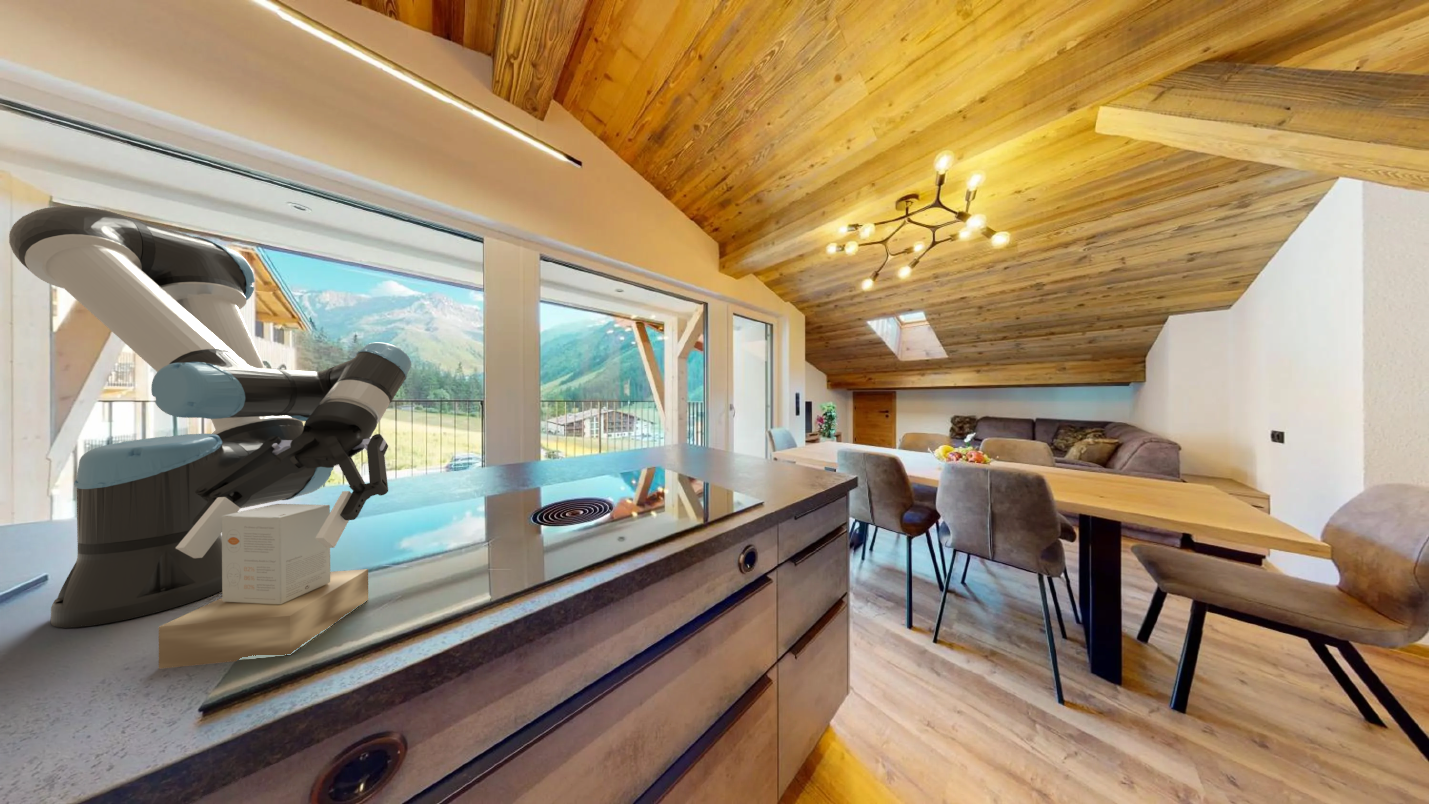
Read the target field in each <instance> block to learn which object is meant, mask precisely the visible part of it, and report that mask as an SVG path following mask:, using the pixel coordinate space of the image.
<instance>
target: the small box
mask: <svg viewBox="0 0 1429 804" xmlns="http://www.w3.org/2000/svg"><path fill="white" fill-rule="evenodd" d="M330 509H331V507H330V504H305V503H304V504H296V503H276V504H271V505H265V506H260V507H257V508H252V509H247V510H242V511H238V512H236V513H232V514H227V515H224V516H222V533H221V536H222V590H221V598H222V601H223V602H240V603H261V604H283V603H285V602H287V601H290V600H292V599H294V598H296V597H299V596H301V595H303V594H305V593H308V592H310V591H312V590H314V589H317V588H319V587H321V586H324V585H326V584H328V583H330V572H331V548H327V547H325V546H324V545H323V544H322V543H321V542H319V541H318V540H317V539H316V536H317V534H318V533H319V531H320V529H321V527H322V526H323V524H324V522H325V521H326V519H327V517H328V515H329V514H330V512H331V510H330Z"/></svg>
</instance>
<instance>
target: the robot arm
mask: <svg viewBox="0 0 1429 804" xmlns="http://www.w3.org/2000/svg"><path fill="white" fill-rule="evenodd" d="M8 234H9V237H8V238H9V239H8V243H9V246H10V248H11V250H12V253H13V254H14V256H15V258H17V259H18V261H19V262H20V264H22V265H23V266H24V267H25V268H26V269H27V270H28V271H30V272H31V273H32V274H33V275H34V276H35V277H36V278H38V279H39V280H42V281H43V282H45V283H47V284H49V285H52V286H55V287H58V288H61V289H64V290H65V291H66V292H67V293H68V294H70V296H72V297H73V299H75V300H76V301H77V302H78V303H79V304H81V306H83V307H84V308H85V309H86V310H87V311H88V312H90V313H91V315H93V316H94V317H95V318H96V319H97V320H99V321H100V322H101V323H102V324H103V325H104V326H106V327H107V329H108V330H109V331H111V332H112V333H113V334H114V335H115V336H116V337H117V338H119V340H120V341H122V342H123V343H124V344H125V345H127V346H128V348H129V349H131V350H132V351H133V352H134V353H135V354H136V355H138V357H140V358H141V359H142V360H143V361H145V363H146V364H147V365H149V366H150V367H151V368H152V369H153V370H154V371H155V372H156V373H155V375H153V379H152V381H151V388H150V389H151V395H152V397H155V405H156V406H157V408H159V410H160V411H162V412H164V413H165V414H166V415H169V416H172V417H176V418H181V419H183V418H184V419H185V418H189V419H190V418H192V419H193V418H195V419H197V418H198V419H200V418H203V419H207V420H208V419H209V420H211V423H212V424H213V427H214V430H213V432H211V433H190V434H180V435H171V436H167V435H166V436H158V437H149V438H141V439H140V438H139V439H134V440H128V441H121V442H115V443H109V444H106V445H101V446H98V447H95V448H92V449H90V450H88V451H86V452H85V453H84V454H83V455H82V456H81V457H80V458H79V461H78V468H77V472H76V473H77V474H76V479H75V481H74V484H73V485H74V488H76V529H77V531H76V532H77V533H76V534H77V536H76V537H77V541H76V542H77V558H76V561H75V564H73V566H72V568H71V570H70V572H69V574H68V576H67V577H66V579H65V581H64V582H63V585H62V586H61V589H60V591H59V593H58V596H57V597H56V599H55V600H53V603H52V605H51V607H50V625H52V626H53V627H55V628H56V627H57V628H80V627H81V628H83V627H90V626H97V625H98V626H99V625H104V624H111V623H115V622H121V621H126V620H130V619H135V618H139V617H143V616H148V615H152V614H156V613H159V612H160V613H161V612H163V611H166V610H170V609H173V608H177V607H181V606H183V605H187V604H190V603H193V602H196V601H198V600H202V599H204V598H207V597H209V596H212V595H214V594H216V593H219V592H222V516H224V515H227V514H232V513H236V512H240V509H245V508H249V507H250V508H251V507H254V506H259V505H265V504H270V503H274V502H278V501H288V500H292V499H294V498H296V497H300V496H305V495H308V494H311V493H314V492H315V491H318V490H319V489H320V488H322V487H323V486H324V485H325V484H326V483H327V481H329V479H330V477H331V476H332V475H331V474H332V472H333V471H334V468H335V466H337V465H338V466H339V468H340V470H341V472H342V474H343V475H344V478H345V479H346V481H347V483H348V485H349V486H348V487H349V488H350V489H351V490H352V492H351V491H350V490H344V491H343V490H342V491H341V493H340V494H339V497H338V498H337V500H336V502H335V503H334V505H333V507H332V509H331V510H330V514H329V515H328V517H327V519H326V521H325V522H324V524H323V526H322V527H321V529H320V531H319V533H318V534H317V536H316V539H317V540H318V541H319V542H321V543H322V544H323V545H324V546H325V547H327V548H330V549H332V548H333V549H334V548H335V547H336V546H337V544H338V542H339V540H340V538H341V536H342V534H343V532H344V531H345V529H346V527H347V525H348V523H349V521H353V520H356V519H357V518H358V517H359V515H360V513H361V511H362V510H363V507H364V506H365V503H366V501H367V500H369V499H370V498H371V497H373V496H384V495H386V494H387V493H388V492H389V485H388V476H387V475H388V474H387V466H386V460H385V459H386V458H385V457H386V456H385V454H386V452H387V450H388V448H389V445H388V443H387V442H386V440H385V438H384V437H383V436H382V434H380V433H376V434H374V435H373V433H374V431H375V430H376V428H377V427H378V424H379V423H380V421H381V420H382V418H383V417H384V415H385V413H386V411H387V409H388V408H389V406H390V404H391V402H392V401H393V400H394V398H395V396H396V394H397V393H398V391H400V389H401V386H403V384H404V382H405V380H407V378H408V374H409V371H410V370H411V368H412V361H411V357H410V356H409V355H408V354H407V353H406V352H405V351H403V350H402V349H401V348H400V347H398V346H396V345H393V344H391V343H388V342H379V341H377V342H376V341H375V342H370V343H368V344H366V345H364V346H363V347H362V348H361V350H358V351H357V353H356V356H355V357H353V358H352V359H350V360H347V361H345V362H342V363H339V364H337V365H335V366H331V367H328V368H326V369H325V370H321V371H320V370H319V371H318V370H317V371H310V370H309V371H308V370H298V369H297V370H296V369H283V368H269V367H266V366H265V364H264V362H263V360H262V358H261V355H260V353H259V351H258V349H257V346H256V345H255V342H254V340H253V338H252V336H251V335H252V334H251V333H250V331H249V329H248V327H247V324H246V322H245V320H244V318H243V315H242V313H241V309H242V308H244V307H245V306H246V304H247V301H248V300H249V299H250V298H251V297H252V295H253V293H254V291H255V286H253V283H255V282H256V281H255V280H256V278H255V274H254V271H253V268H252V267H251V265H250V263H249V262H248V261H247V260H246V258H245V257H244V256H242V255H241V254H240V253H239V252H237V251H236V250H235V249H232V248H231V247H228V246H224V245H222V244H220V243H216V242H215V241H213V240H211V239H207V238H204V237H199V236H192V235H189V234H185V233H182V232H179V231H176V230H172V229H169V228H165V227H162V226H159V225H156V224H152V223H150V222H149V223H148V222H145V221H142V220H139V219H137V218H133V217H130V216H126V215H124V214H120V213H116V212H112V211H110V210H106V209H102V208H96V207H89V206H77V205H59V206H58V205H57V206H52V207H51V206H50V207H44V208H40V209H36V210H34V211H32V212H29V213H28V214H25V215H23V216H21V218H19V219H18V220H17V221H15V223H13V225H12V227H11V229H10V231H9V233H8ZM303 422H305V423H304V424H303ZM364 449H365V450H366V454H367V464H368V465H367V466H368V467H367V468H368V478H369V482H368V483H365V480H364V479H363V477H362V475H361V473H360V472H359V470H358V468H357V465H356V463H355V462H354V460H353V458H352V457H354V456H356V455H357V454H358V453H360V452H362V451H363V450H364Z"/></svg>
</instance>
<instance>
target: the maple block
mask: <svg viewBox="0 0 1429 804" xmlns="http://www.w3.org/2000/svg"><path fill="white" fill-rule="evenodd" d="M367 600H368V601H369V568H367V569H366V568H365V569H351V570H337V571H330V583H328V584H326V585H324V586H321V587H319V588H317V589H314V590H312V591H310V592H308V593H305V594H303V595H301V596H299V597H296V598H294V599H292V600H290V601H287V602H285V603H283V604H261V603H240V602H223V601H222V597H220V598H218V599H216V600H214V601H211V602H210V603H207V604H205V605H203V606H201V607H198V608H197V609H194V610H192V611H190V612H188V613H186V614H183V615H181V616H179V617H177V618H175V619H173V620H170V621H169V622H166V623H163V624H161V625H159V626H158V670H160V669H171V668H181V667H189V666H190V667H192V666H199V665H209V664H210V665H212V664H220V663H221V664H222V663H230V662H231V663H232V662H238V661H237V660H239V659H240V658H242V657H248V656H252V655H253V656H254V655H255V656H256V655H285V654H286V655H287V654H291V653H292V652H293V651H294V650H296V649H297V648H299V647H300V646H301V645H302V644H304V643H305V642H307V641H308V640H310V639H311V638H312V637H314V636H315V635H317V634H319V633H320V632H321V631H323V630H325V629H327V628H328V627H329V626H331V625H332V624H334V623H335V622H337V621H338V620H339V619H340V618H341V617H343V616H344V615H345V614H347V613H349V612H351V611H352V610H353V609H355V608H356V607H357V606H359V605H361V604H363V603H364V602H365V601H367ZM368 601H367V602H368ZM363 605H364V604H363Z"/></svg>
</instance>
